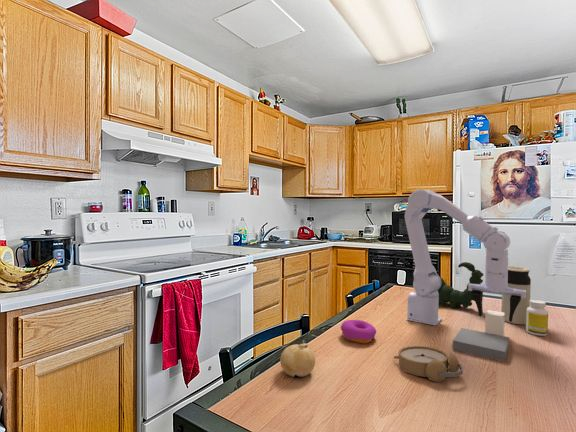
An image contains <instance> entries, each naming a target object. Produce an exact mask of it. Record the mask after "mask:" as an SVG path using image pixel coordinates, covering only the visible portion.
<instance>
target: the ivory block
mask: <svg viewBox="0 0 576 432" xmlns="http://www.w3.org/2000/svg"><path fill="white" fill-rule="evenodd" d="M505 322H506V321H505V313H503V312H501V311H495V310H491V309H487V311H486V312H485V321H484V323H485V324H484V332H485V333H490V334H495V335H500V336H505Z"/></svg>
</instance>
